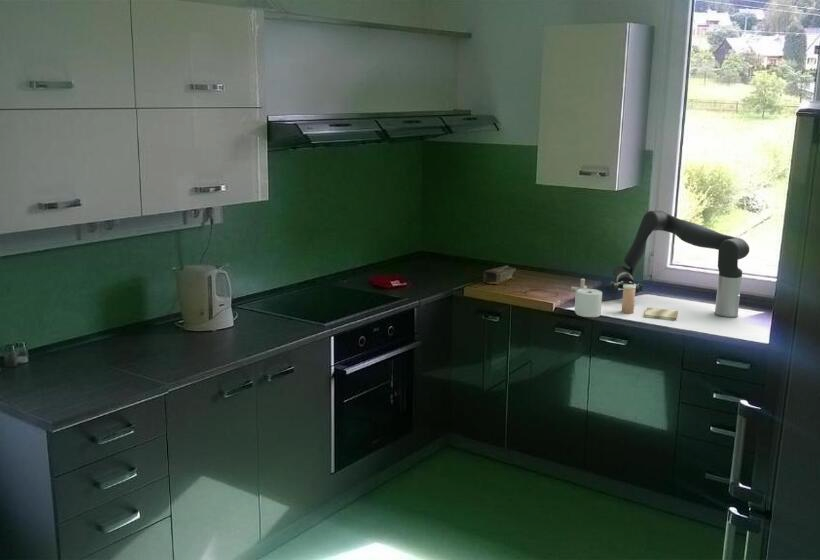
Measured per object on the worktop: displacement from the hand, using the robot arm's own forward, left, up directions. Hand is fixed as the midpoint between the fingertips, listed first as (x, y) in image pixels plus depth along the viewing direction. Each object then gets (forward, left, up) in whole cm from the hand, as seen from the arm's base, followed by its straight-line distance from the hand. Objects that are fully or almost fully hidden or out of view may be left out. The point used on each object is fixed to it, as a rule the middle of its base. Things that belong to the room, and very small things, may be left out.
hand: (627, 290), depth 362 cm
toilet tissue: (+14, +21, -7) cm, 26 cm away
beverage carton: (+65, -22, -8) cm, 69 cm away
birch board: (-16, +10, -7) cm, 20 cm away
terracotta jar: (-2, +11, -7) cm, 13 cm away
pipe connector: (+20, -1, -7) cm, 21 cm away
